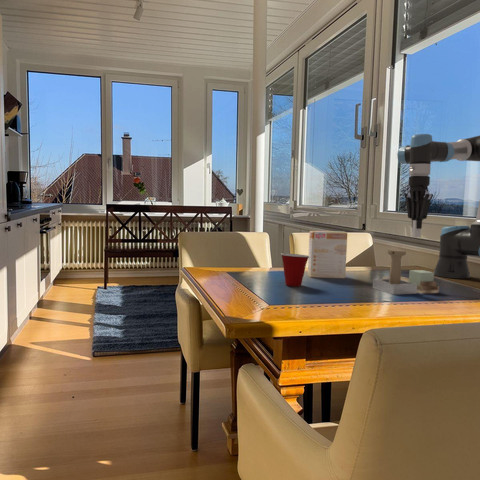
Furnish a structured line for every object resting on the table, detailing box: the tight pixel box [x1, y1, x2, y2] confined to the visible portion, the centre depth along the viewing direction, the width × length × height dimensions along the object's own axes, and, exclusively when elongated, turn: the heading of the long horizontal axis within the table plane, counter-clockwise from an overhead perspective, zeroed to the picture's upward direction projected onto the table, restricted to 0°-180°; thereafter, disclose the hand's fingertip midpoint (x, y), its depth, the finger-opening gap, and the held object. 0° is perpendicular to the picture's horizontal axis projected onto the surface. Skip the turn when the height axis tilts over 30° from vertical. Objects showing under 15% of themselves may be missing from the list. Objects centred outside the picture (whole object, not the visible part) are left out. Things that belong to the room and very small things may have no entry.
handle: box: [387, 248, 407, 284], centre depth 164 cm, size 5×6×15 cm
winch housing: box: [372, 278, 418, 296], centre depth 164 cm, size 10×12×4 cm
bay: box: [382, 276, 440, 294], centre depth 173 cm, size 8×22×4 cm, turn 19°
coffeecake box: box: [307, 230, 348, 279], centre depth 191 cm, size 15×7×20 cm, turn 92°
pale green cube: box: [408, 269, 435, 286], centre depth 167 cm, size 6×6×6 cm
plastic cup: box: [280, 252, 309, 287], centre depth 168 cm, size 11×11×12 cm
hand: (416, 237), depth 174 cm, fingers closed
